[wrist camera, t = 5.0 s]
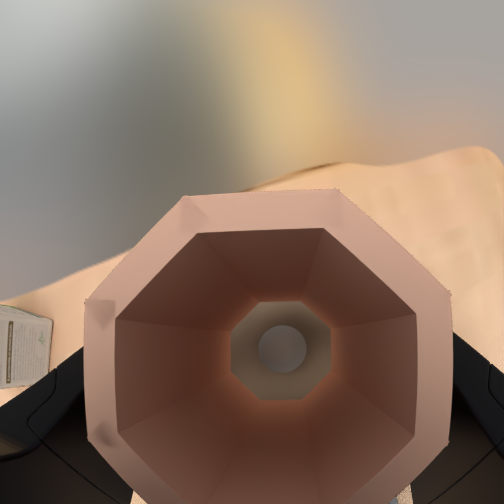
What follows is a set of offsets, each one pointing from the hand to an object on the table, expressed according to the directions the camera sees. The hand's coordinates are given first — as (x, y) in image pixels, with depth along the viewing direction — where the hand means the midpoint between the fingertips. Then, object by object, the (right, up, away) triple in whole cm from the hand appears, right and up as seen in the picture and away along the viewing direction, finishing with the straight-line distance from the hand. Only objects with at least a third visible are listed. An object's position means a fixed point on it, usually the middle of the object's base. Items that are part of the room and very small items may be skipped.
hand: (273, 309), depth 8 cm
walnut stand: (+2, -5, +12) cm, 13 cm away
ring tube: (+1, -3, +5) cm, 6 cm away
